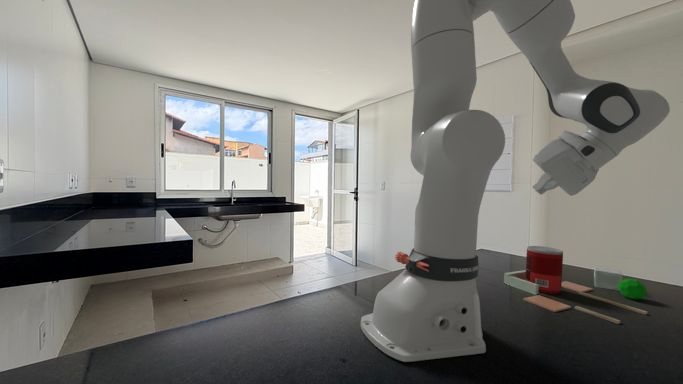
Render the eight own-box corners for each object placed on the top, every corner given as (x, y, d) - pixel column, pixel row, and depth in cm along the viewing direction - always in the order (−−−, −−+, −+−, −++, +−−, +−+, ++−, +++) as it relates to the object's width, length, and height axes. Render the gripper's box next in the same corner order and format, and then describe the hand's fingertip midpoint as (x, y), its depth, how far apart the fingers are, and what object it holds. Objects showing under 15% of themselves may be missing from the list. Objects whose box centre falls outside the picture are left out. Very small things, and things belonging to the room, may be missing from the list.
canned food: (568, 294, 72) (571, 252, 72) (538, 294, 72) (541, 251, 72) (545, 284, 80) (547, 246, 80) (518, 283, 80) (520, 245, 80)
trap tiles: (554, 312, 62) (555, 310, 62) (506, 293, 72) (506, 291, 72) (615, 296, 72) (615, 295, 72) (565, 282, 82) (566, 281, 82)
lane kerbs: (617, 323, 57) (617, 321, 57) (550, 300, 68) (550, 298, 68) (647, 314, 62) (647, 311, 62) (580, 293, 74) (580, 291, 74)
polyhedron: (645, 299, 71) (646, 280, 71) (646, 304, 68) (647, 284, 68) (618, 293, 75) (619, 275, 75) (617, 297, 72) (618, 279, 72)
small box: (593, 282, 84) (594, 265, 84) (620, 287, 80) (620, 270, 80) (593, 286, 80) (594, 269, 80) (622, 292, 76) (623, 274, 76)
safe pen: (535, 294, 72) (536, 283, 71) (503, 283, 79) (504, 273, 79) (565, 288, 77) (566, 278, 77) (532, 278, 85) (533, 268, 85)
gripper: (590, 164, 76) (544, 197, 82) (560, 127, 66) (510, 168, 72) (611, 177, 72) (560, 212, 78) (582, 140, 62) (526, 183, 68)
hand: (536, 191), depth 75 cm, fingers closed
